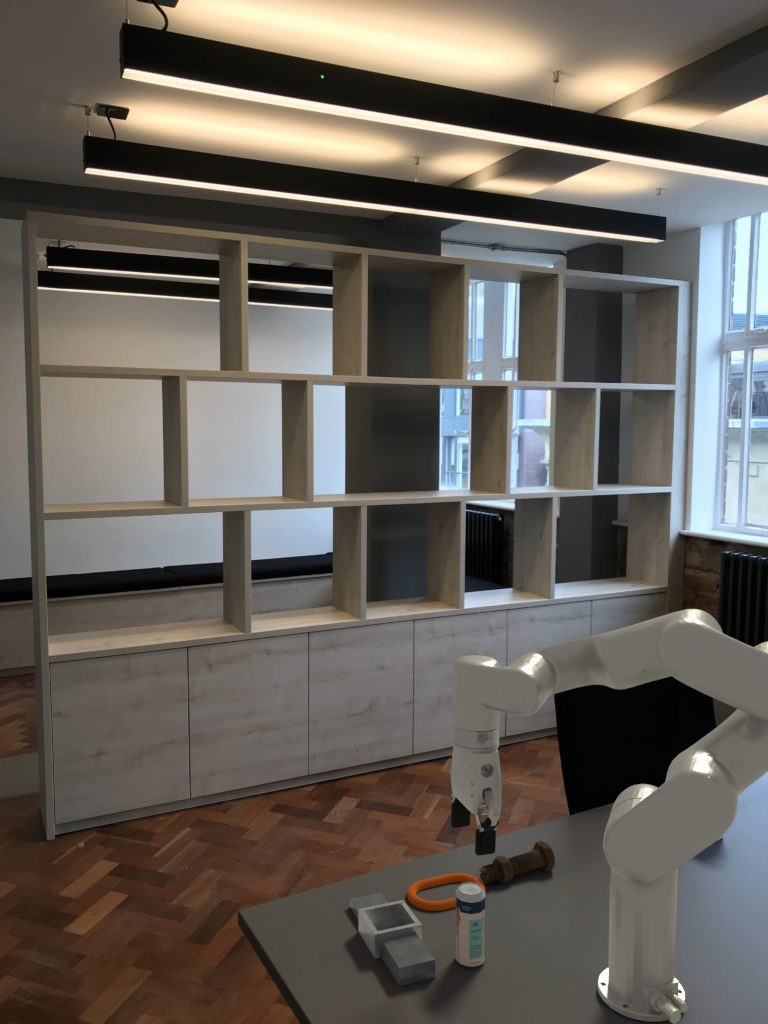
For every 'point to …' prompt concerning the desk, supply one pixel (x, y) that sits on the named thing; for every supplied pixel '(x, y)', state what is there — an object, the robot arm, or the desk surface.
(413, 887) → the metal ring
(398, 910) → the bar with square collar
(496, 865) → the bolt
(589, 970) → the desk surface
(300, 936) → the desk surface
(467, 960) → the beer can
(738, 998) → the desk surface
